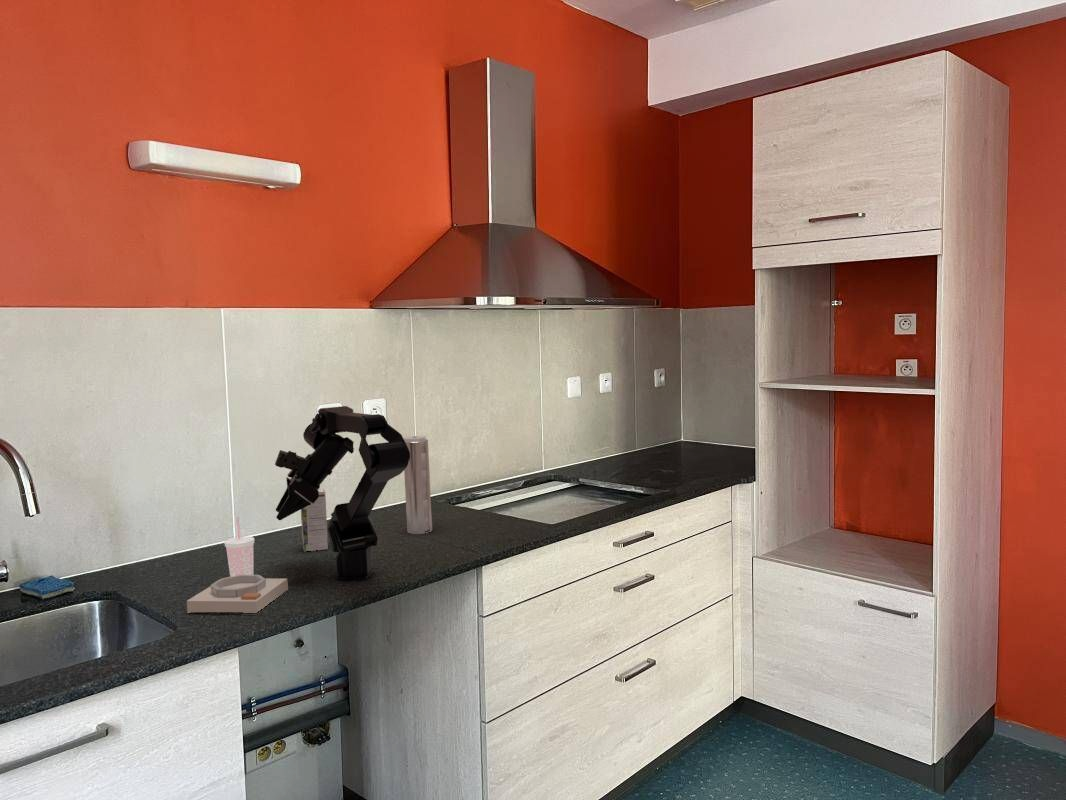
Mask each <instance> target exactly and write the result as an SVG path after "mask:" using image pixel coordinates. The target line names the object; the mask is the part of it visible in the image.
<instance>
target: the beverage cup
mask: <svg viewBox="0 0 1066 800" xmlns="http://www.w3.org/2000/svg"><path fill="white" fill-rule="evenodd" d="M240 526H241V525H240V517H239V516H237V517H236V527H237V537H232V538H229V539H226V540H225V541H224V542H223V543H224V547H225V548H226V554H227V555H226V556H227V563H228V571H229V577H231V576H236V575H255V574H254V544H255V541H256V540H255V537H254V536H253V537H252V536H241V529H240V528H241V527H240Z"/></svg>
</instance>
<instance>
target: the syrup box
mask: <svg viewBox="0 0 1066 800" xmlns="http://www.w3.org/2000/svg"><path fill="white" fill-rule="evenodd" d="M318 492H319V497H318V499H317V500H316V501H315V502H314V503H311V505H308V506H306V507H304V508H303V509H301V510H300V513H301V514H300V516H301V517H300V519H301V520H300V521H301V537H302V541H301V542H302V549H303V551H304V552H305V553H307V552H306V551H311V552H317V551H316V550H318V551H324V550H325V551H326V550H329V543H328V541H329V539H328V538H329V536H328V519H327V499H326V498H327V497H326V491H325V489H324V488H323V487H320V488H319V489H318Z"/></svg>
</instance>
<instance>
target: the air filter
mask: <svg viewBox="0 0 1066 800" xmlns="http://www.w3.org/2000/svg"><path fill="white" fill-rule="evenodd" d="M403 439H404V441H405V443H406V445H407V447H408V449H409V452H410V460H409V463H408V466H407V467H406V469H405V470H404V471H403V472H404V473H403V474H404V492H405V495H404V496H405V510H406V529H407V533H408V534H409V533H410V534H409V535H426V534H429V532H430V533H431V532H432V531H433V521H432V519H433V518H432V517H433V516H432V502H431V480H430V477H431V476H430V457H429V440H428V439H427V438H426V436H424V435H412V436H411V435H410V436H405V437H403ZM425 533H426V534H425Z"/></svg>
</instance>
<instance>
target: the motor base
mask: <svg viewBox="0 0 1066 800" xmlns="http://www.w3.org/2000/svg"><path fill="white" fill-rule="evenodd" d="M288 585H289V584H288V578H270V577H268V578H265V577H263V576H261V575H260V574H254V575H236V576H231V577H230V576H227V577H223V578H218V580H217V581H215V582H213V583H211V584H210V586H208V587H207V588H205V589H204V590H202V591H200V592H199V593H197V594H196V595H194V596H192V597H191V598H189V599H188V600H186V609H187V612H186V613H187V614H188V613H191V612H193V613H194V612H243V613H257V612H258V611H260V610H261V609H263V608H264V607H265V606H267V605H268V604H269V603H270V602H272V601H273V600H275V599H276V598H278V597H279V596H280V595H281V596H283V595H284V594H285V593H286V592H285V591H287V590H288V591H289V586H288ZM288 591H287V592H288ZM284 592H285V593H284ZM283 593H284V594H283ZM282 594H283V595H282ZM281 596H280V597H281ZM280 597H279V598H280ZM279 598H278V599H279ZM276 600H277V599H276ZM276 600H275V601H276ZM272 603H273V602H272ZM268 606H269V605H268ZM268 606H267V607H268ZM263 610H264V609H263Z"/></svg>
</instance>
